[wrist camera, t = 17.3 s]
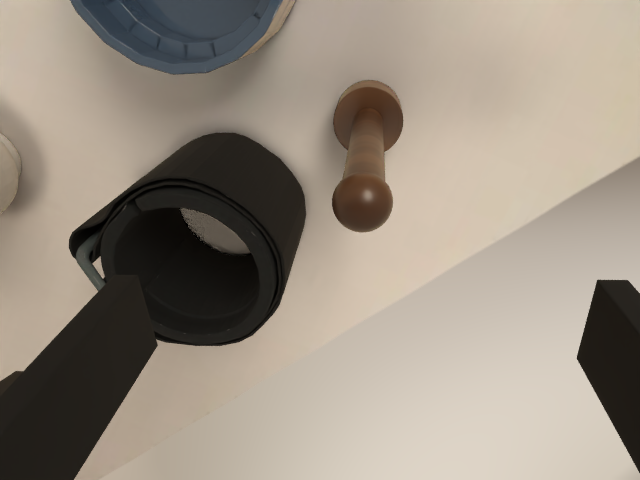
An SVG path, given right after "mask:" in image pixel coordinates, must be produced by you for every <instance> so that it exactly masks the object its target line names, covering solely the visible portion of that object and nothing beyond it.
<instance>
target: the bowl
mask: <svg viewBox="0 0 640 480" xmlns="http://www.w3.org/2000/svg"><path fill="white" fill-rule="evenodd" d="M70 1H71V3H72V5H73V7H74V8H75V10H76V11H77V13H78V14H79V15H80V16H81V17H82V19H83V20H84V21H85V22H86V23H87V24H88V25H89V26H90V27H91V28H92V30H93V31H94V32H95V33H96V34H97V35H98V36H99V37H100V38H101V39H102V40H103V42H104V43H106V44H107V45H109V46H110V47H112V48H113V49H115V50H117V51H118V52H120V53H121V54H123V55H124V56H126V57H127V58H129V59H130V60H132V61H134V62H135V63H137V64H139V65H142V66H145V67H148V68H152V69H155V70H159V71H162V72H166V73H169V74H173V75H175V74H196V73H208V72H210V71H213V70H215V69H218V68H220V67H222V66H225V65H227V64H229V63H232V62H234V61H236V60H239V59H241V58H243V57H245V56H247V55H249V54H251V53H254V52H256V51H257V50H258V49H259V48H261V47H262V46H263V45H264V44H265V43H266V42H267V41H268V40H269V39H270V38H271V37H272V36H273V35H274V34H275V33H277V32H278V31H279V29H280V28H281V27H282V25H283V23H284V21H285V19H286V18H287V16H288V14H289V12H290V10H291V8H292V7H293V5H294V3H295V1H296V0H70Z"/></svg>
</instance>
